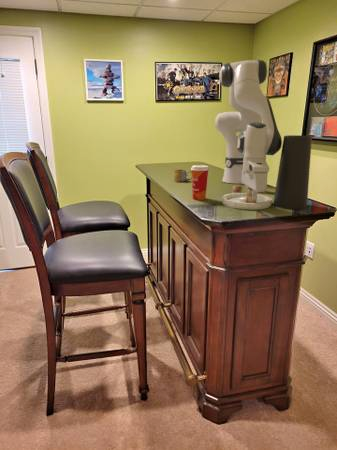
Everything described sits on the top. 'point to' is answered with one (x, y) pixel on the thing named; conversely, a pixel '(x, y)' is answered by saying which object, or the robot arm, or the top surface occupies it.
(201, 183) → the coffee cup
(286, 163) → the vase
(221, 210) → the top surface
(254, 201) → the tan egg
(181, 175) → the mug
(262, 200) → the tray
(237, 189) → the brown egg
